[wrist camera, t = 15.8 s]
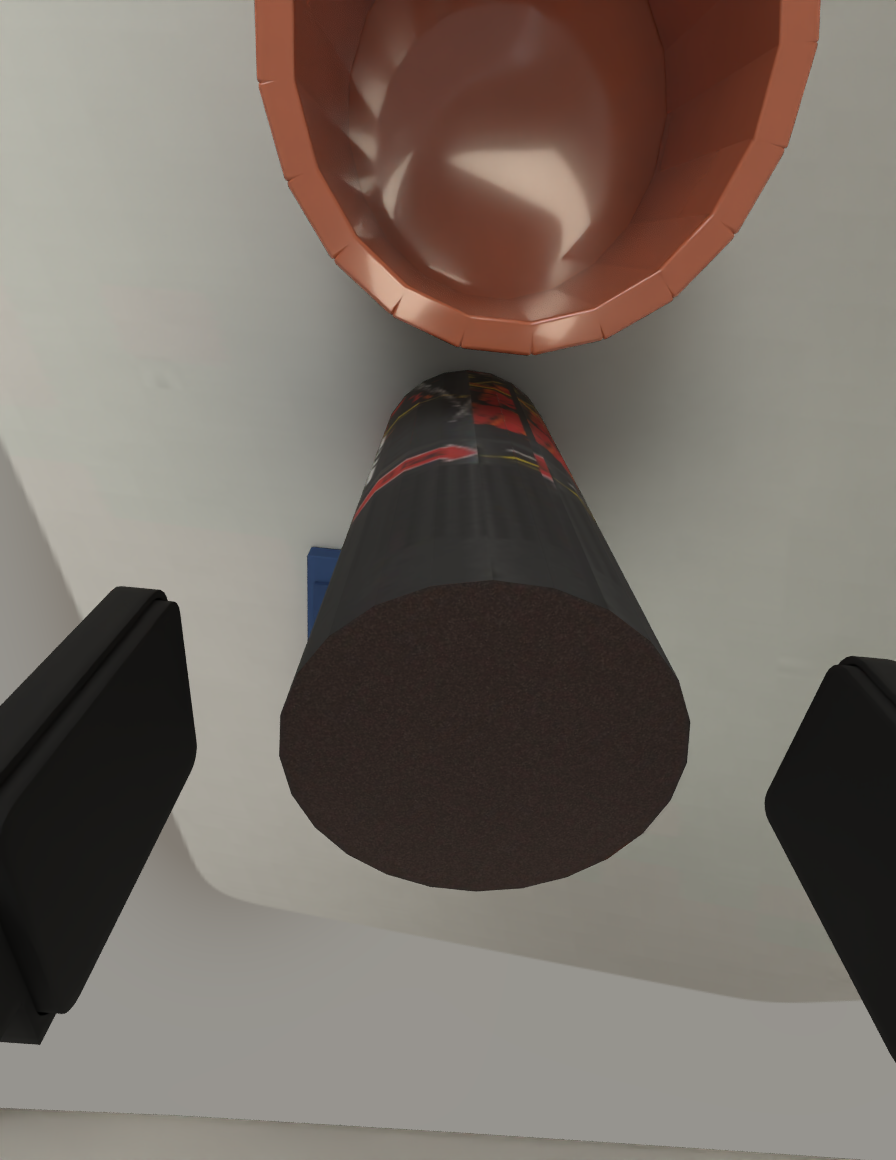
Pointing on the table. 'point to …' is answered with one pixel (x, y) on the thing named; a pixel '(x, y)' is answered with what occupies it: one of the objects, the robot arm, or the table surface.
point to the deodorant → (479, 662)
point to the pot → (529, 149)
